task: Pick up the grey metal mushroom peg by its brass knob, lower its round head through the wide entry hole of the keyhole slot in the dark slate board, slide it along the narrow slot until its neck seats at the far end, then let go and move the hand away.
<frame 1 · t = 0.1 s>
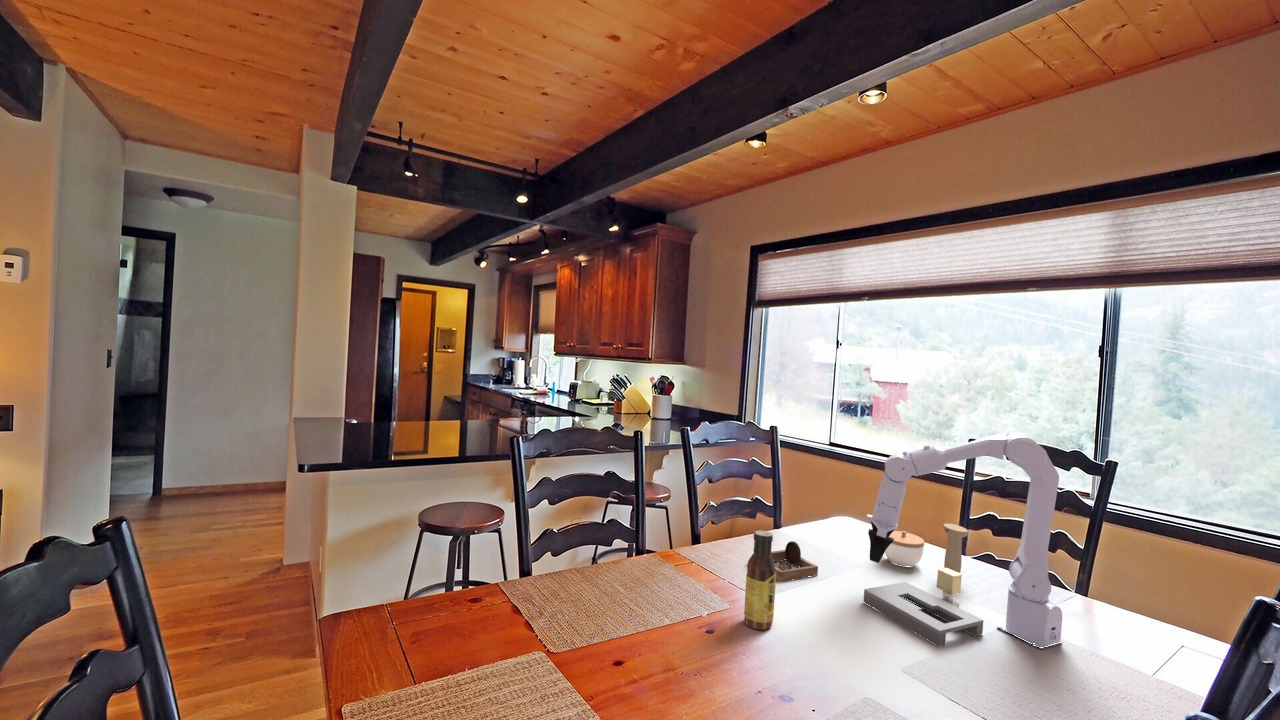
hand: (875, 556, 135), 11 cm above the table, tool pointing down, fingers open, 7 cm apart
keyhole board: (919, 618, 126), on the table
lidded jar: (901, 564, 159), on the table
handle: (951, 583, 147), on the table
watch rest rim: (783, 569, 150), on the table
sauce bottle: (758, 624, 120), on the table
compass: (784, 570, 150), resting in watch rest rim
keyhole peg: (947, 606, 133), on the table
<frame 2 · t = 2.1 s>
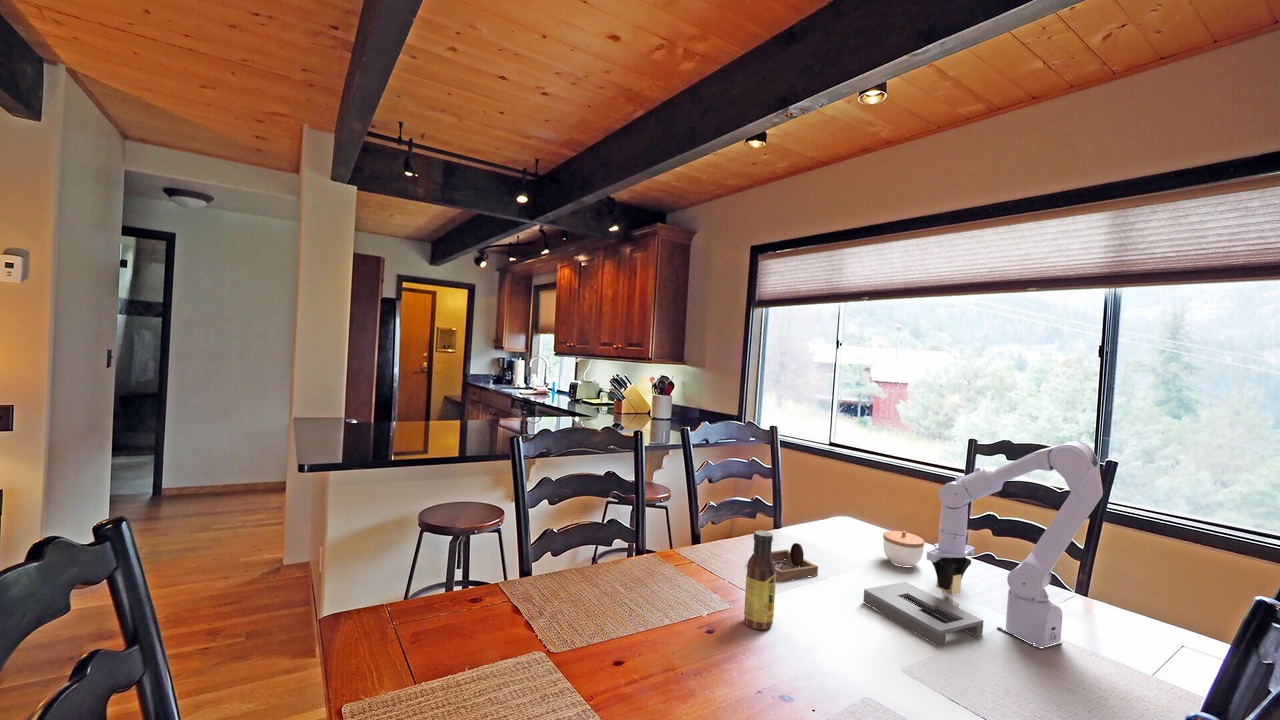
hand: (948, 587, 133), 5 cm above the table, tool pointing down, fingers closed on keyhole peg, 3 cm apart
keyhole peg: (947, 606, 133), on the table, touching gripper
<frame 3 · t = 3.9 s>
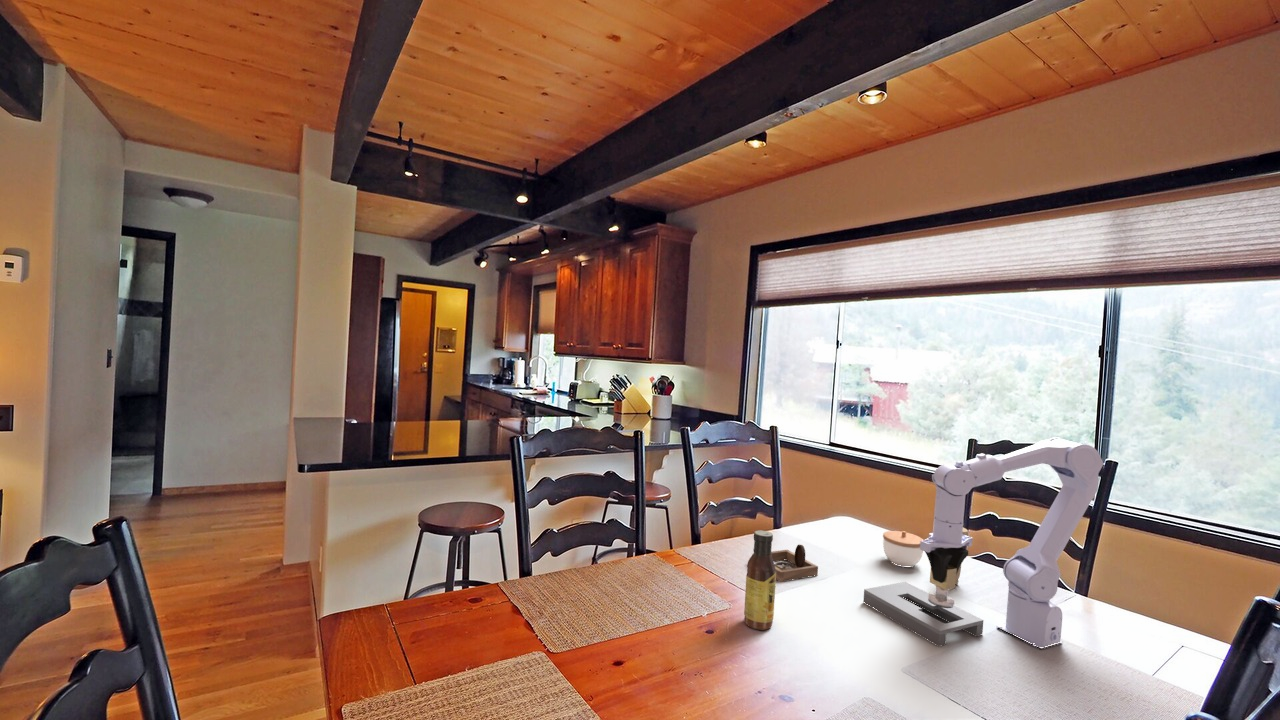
hand: (943, 579, 123), 10 cm above the table, tool pointing down, fingers closed on keyhole peg, 3 cm apart
keyhole peg: (940, 602, 123), point 5 cm above the table, touching gripper
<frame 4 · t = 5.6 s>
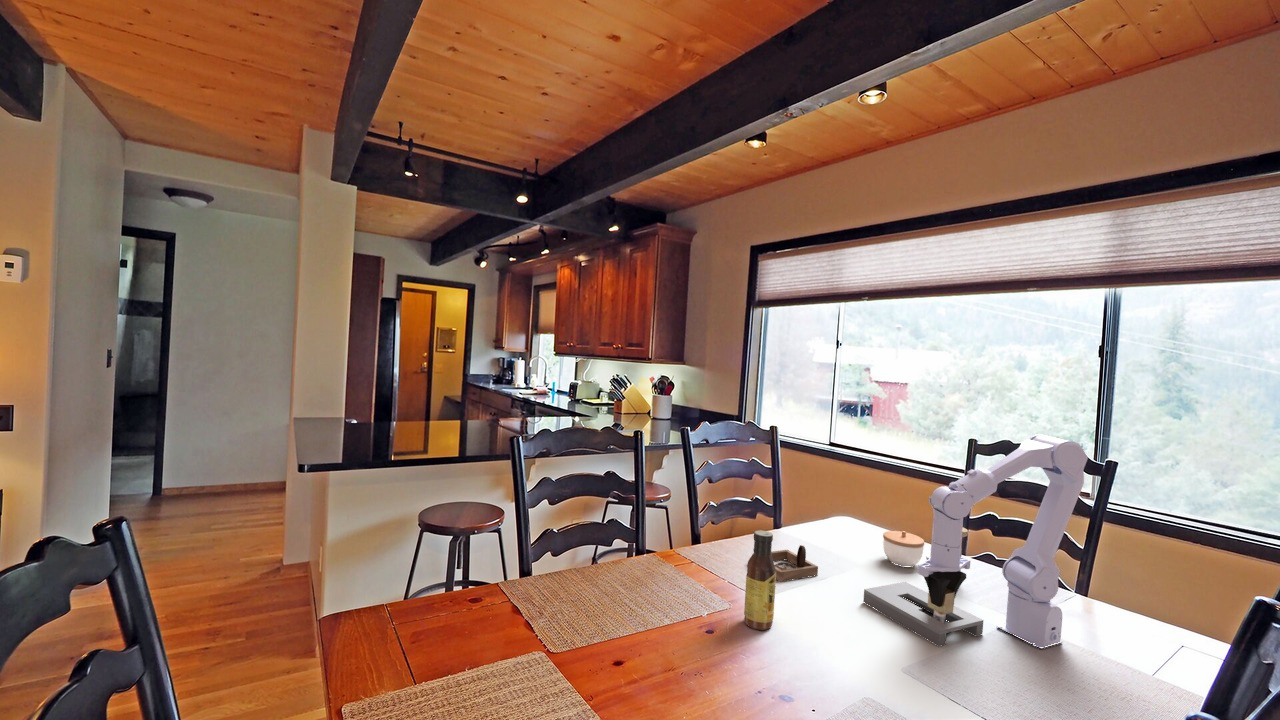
hand: (941, 603, 122), 6 cm above the table, tool pointing down, fingers closed on keyhole peg, 3 cm apart
keyhole peg: (938, 626, 122), resting in keyhole board, touching gripper
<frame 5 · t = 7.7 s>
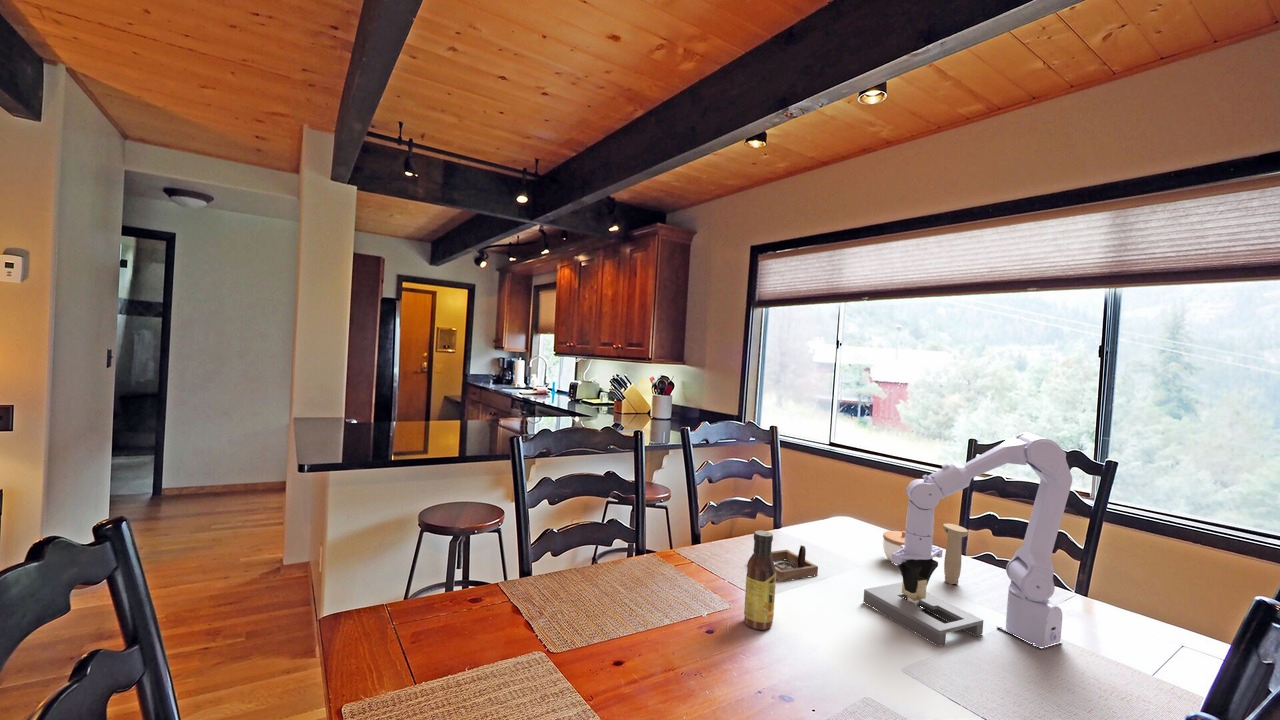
hand: (914, 590, 128), 6 cm above the table, tool pointing down, fingers closed on keyhole peg, 3 cm apart
keyhole peg: (912, 612, 128), resting in keyhole board, touching gripper
when the fingers open (6 cm above the table, at t = 9.4 s): keyhole peg stays where it is, resting in keyhole board.
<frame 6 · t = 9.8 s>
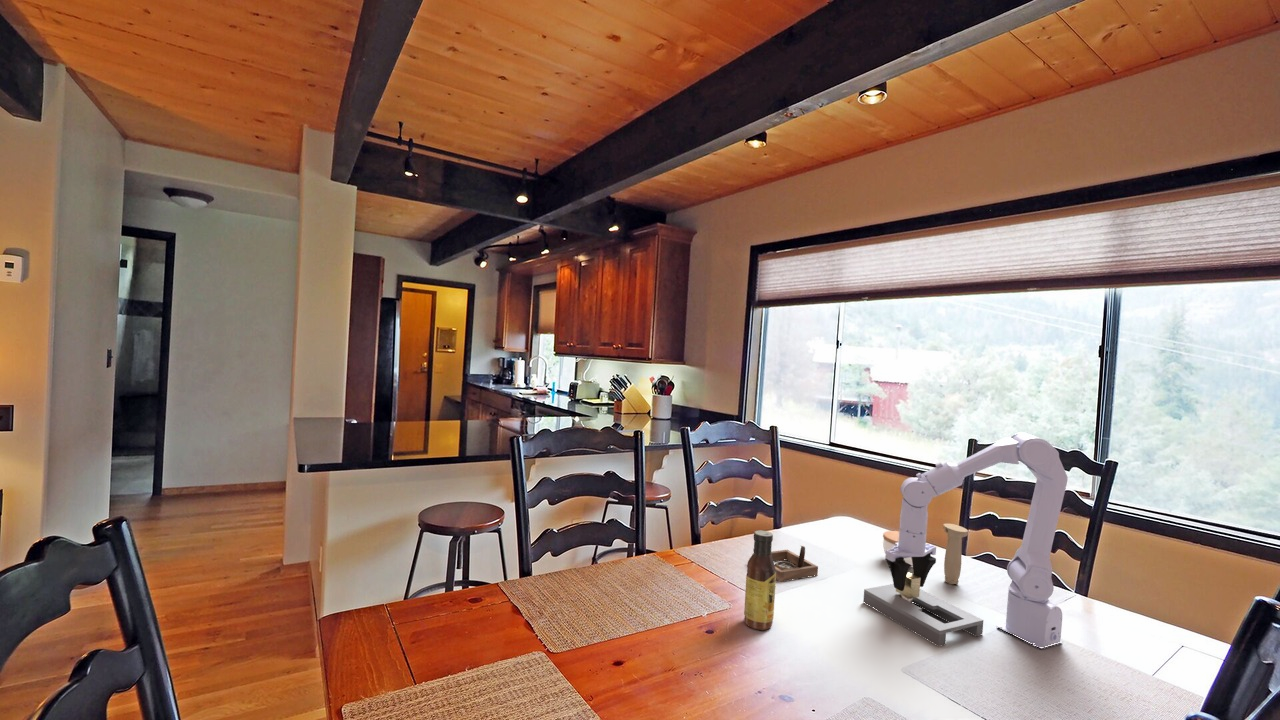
hand: (908, 587, 129), 6 cm above the table, tool pointing down, fingers open, 6 cm apart
keyhole peg: (906, 610, 130), resting in keyhole board
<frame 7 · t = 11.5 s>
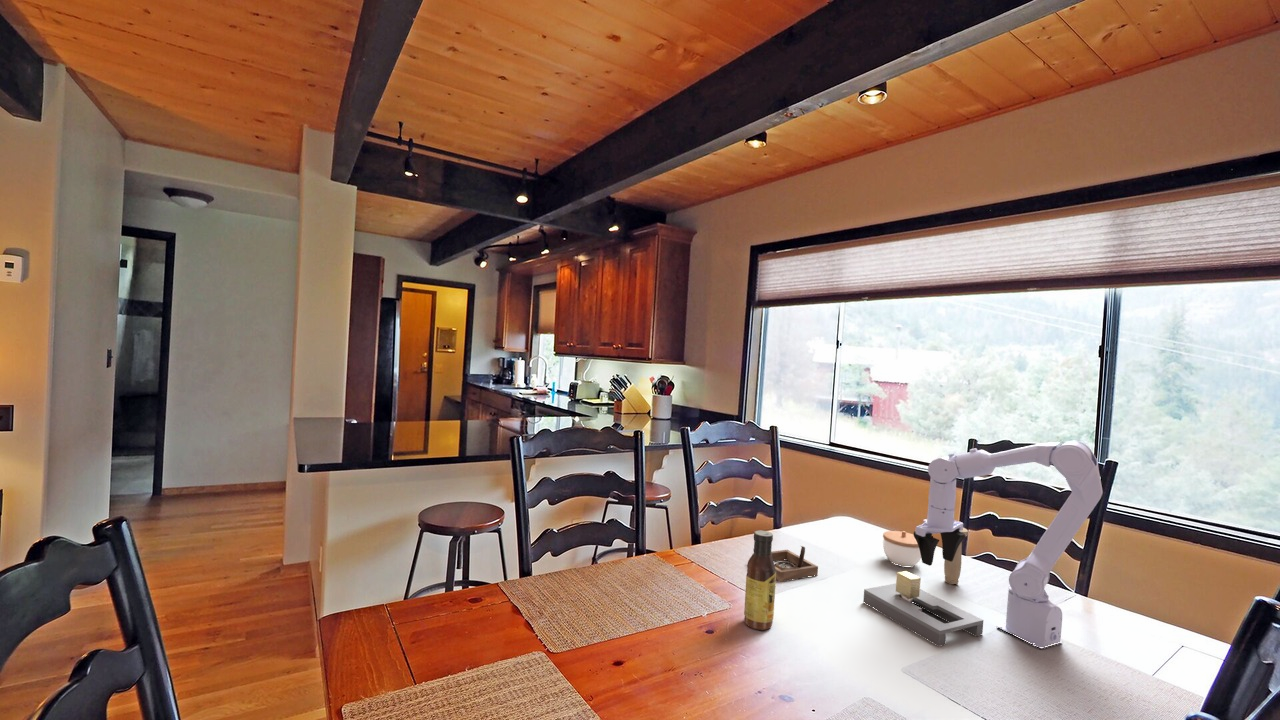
hand: (937, 561, 134), 10 cm above the table, tool pointing down, fingers open, 7 cm apart
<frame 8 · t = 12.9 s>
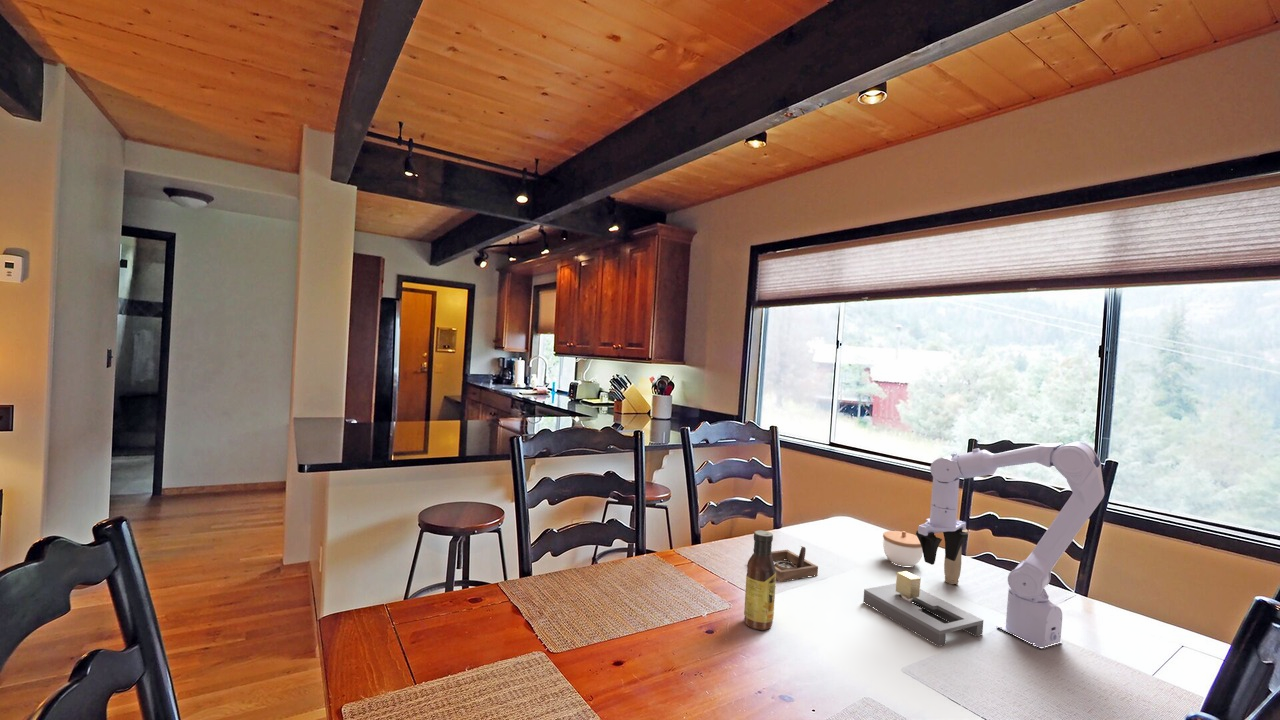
hand: (939, 561, 134), 10 cm above the table, tool pointing down, fingers open, 7 cm apart
at the end: keyhole peg 0.1 cm from the target spot on the keyhole board, point 0.0 cm above the keyhole board's base; keyhole peg tilted 0°; the gripper is holding nothing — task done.
